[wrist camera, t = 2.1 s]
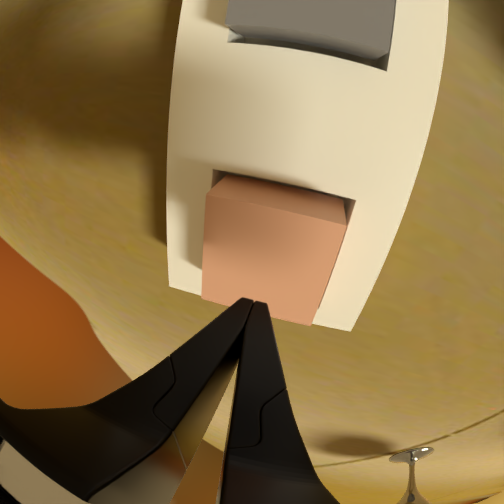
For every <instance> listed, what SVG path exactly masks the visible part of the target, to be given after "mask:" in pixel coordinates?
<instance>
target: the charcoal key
mask: <svg viewBox="0 0 504 504" xmlns="http://www.w3.org/2000/svg"><path fill="white" fill-rule="evenodd" d="M394 6H395V0H229V1H228V7H227V13H226V19H225V25H226V26H228V27H230V28H231V29H233V30H234V31H236V32H237V33H239V34H240V35H242V36H243V37H249V38H261V39H270V40H279V41H286V42H293V43H300V44H306V45H311V46H317V47H322V48H326V49H331V50H335V51H340V52H344V53H348V54H352V55H356V56H359V57H363V58H366V59H370V60H373V61H374V60H376V59H378V58H380V57H381V56H383V55H385V54H387V53H388V52H389V46H390V39H391V32H392V24H393V16H394Z"/></svg>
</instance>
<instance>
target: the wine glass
mask: <svg viewBox="0 0 504 504" xmlns="http://www.w3.org/2000/svg"><path fill="white" fill-rule="evenodd" d="M433 452H434V449H433V448H430V447H425V448H416V449H411V450H407V451H404V452H401V453H398V454H396V455H394V456H392V457H391V458H390V459H389V461H390V462H392V463H408V464H409V482H408V487H407V490H406V492H405V494H404V496H403V497H402V498H401V500H400V501H399V502H398V503H397V504H431V502H430V501H428V500H427V499H426V498H425V497H424V496H422V495H421V494H420V492H419V491H418V489H417V487H416V483H415V473H414V466H415V462H416V461H417V460H419V459H422V458H425V457H427V456H429V455H430V454H432V453H433Z"/></svg>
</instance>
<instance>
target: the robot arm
mask: <svg viewBox="0 0 504 504" xmlns="http://www.w3.org/2000/svg"><path fill="white" fill-rule="evenodd" d="M238 361H239V362H238ZM237 364H238V368H237V374H236V380H235V387H234V393H233V399H232V406H231V412H230V418H229V424H228V431H227V437H226V443H225V449H224V456H223V463H222V468H221V474H220V481H219V487H218V493H217V499H216V504H340V503H339V502H338V501H337V500H336V499H335V498H334V496H333V495H332V494H331V493H330V492H329V491H328V490H327V489H326V488H325V486H324V485H323V484H322V482H321V481H320V479H319V478H318V476H317V474H316V472H315V470H314V467H313V465H312V463H311V460H310V458H309V455H308V453H307V450H306V448H305V445H304V443H303V440H302V437H301V435H300V432H299V430H298V427H297V424H296V421H295V418H294V415H293V411H292V408H291V404H290V400H289V396H288V391H287V390H286V388H287V387H286V383H285V378H284V374H283V369H282V365H281V361H280V356H279V352H278V347H277V343H276V338H275V334H274V330H273V325H272V321H271V316H270V312H269V308H268V304H267V303H265V302H261V301H255V302H254V300H253V299H249V298H245V297H241V298H240V299H238V300H237V301H236V302H235V303H234V304H232V305H231V306H230V307H229V308H228V309H226V310H225V311H224V312H223V313H221V314H220V315H219V316H218V317H216V318H215V319H214V320H213V321H212V322H210V323H209V324H208V325H207V326H205V327H204V328H203V329H202V330H200V331H199V332H198V333H197V334H195V335H194V336H193V337H192V338H190V339H189V340H188V341H187V342H185V343H184V344H183V345H182V346H180V347H179V348H178V349H177V350H175V351H174V352H173V353H171V354H170V357H169V356H167V357H166V358H165V359H164V360H162V361H161V362H160V363H159V364H157V365H156V366H154V367H153V368H152V369H150V370H149V371H147V372H146V373H144V374H143V375H141V376H140V377H138V378H136V379H135V380H133V381H131V382H130V383H128V384H126V385H125V386H123V387H121V388H119V389H117V390H116V391H114V392H112V393H110V394H109V395H107V396H105V397H103V398H101V399H99V400H98V401H95V402H93V403H90V404H87V405H83V406H78V407H66V408H50V409H18V408H14V407H12V406H9V405H7V404H6V403H5V402H4V401H2V399H1V398H0V504H169V503H170V501H171V499H172V497H173V495H174V494H175V492H176V489H177V488H178V486H179V484H180V482H181V480H182V478H183V476H184V474H185V472H186V469H187V468H188V466H189V464H190V462H191V460H192V458H193V456H194V454H195V452H196V450H197V448H198V446H199V444H200V442H201V440H202V438H203V436H204V434H205V432H206V430H207V428H208V426H209V424H210V422H211V420H212V418H213V416H214V414H215V411H216V409H217V407H218V405H219V403H220V401H221V399H222V397H223V395H224V392H225V390H226V388H227V386H228V384H229V382H230V380H231V377H232V375H233V373H234V371H235V369H236V366H237Z"/></svg>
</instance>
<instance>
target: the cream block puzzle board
mask: <svg viewBox="0 0 504 504" xmlns="http://www.w3.org/2000/svg"><path fill="white" fill-rule="evenodd" d="M228 1H229V0H183V3H182V8H181V14H180V20H179V27H178V34H177V41H176V48H175V57H174V65H173V75H172V85H171V96H170V109H169V125H168V145H167V183H166V213H167V252H168V272H169V286H170V287H173V288H177V289H180V290H183V291H187V292H190V293H194V294H197V295H201V292H202V261H203V238H204V219H205V202H206V194H207V193H208V192H209V191H210V190H211V189H212V188H213V187H214V186H215V185H216V184H217V183H218V182H219V181H220V180H221V179H222V178H224V177H225V176H226V175H227V174H229V175H234V176H240V177H245V178H250V179H255V180H260V181H265V182H270V183H275V184H279V185H284V186H288V187H293V188H297V189H302V190H306V191H310V192H315V193H319V194H323V195H327V196H331V197H335V198H339V199H343V205H344V211H345V217H346V223H347V227H346V230H345V233H344V236H343V239H342V242H341V245H340V248H339V251H338V254H337V257H336V260H335V263H334V266H333V269H332V271H331V274H330V277H329V280H328V283H327V285H326V288H325V291H324V293H323V296H322V299H321V301H320V304H319V307H318V309H317V312H316V314H315V317H314V319H313V322H312V324H317V325H322V326H326V327H331V328H336V329H341V330H346V331H350V332H351V330H352V328H353V326H354V324H355V322H356V320H357V318H358V316H359V314H360V312H361V310H362V308H363V306H364V304H365V302H366V300H367V298H368V296H369V294H370V292H371V290H372V288H373V286H374V284H375V282H376V279H377V277H378V275H379V273H380V271H381V268H382V266H383V264H384V261H385V259H386V257H387V254H388V252H389V250H390V247H391V245H392V242H393V240H394V237H395V235H396V232H397V230H398V227H399V225H400V222H401V219H402V217H403V214H404V211H405V209H406V206H407V203H408V200H409V197H410V194H411V191H412V188H413V185H414V182H415V179H416V176H417V173H418V170H419V166H420V163H421V160H422V156H423V153H424V149H425V145H426V142H427V138H428V134H429V130H430V126H431V122H432V118H433V113H434V109H435V104H436V99H437V94H438V89H439V84H440V78H441V72H442V66H443V59H444V51H445V43H446V33H447V21H448V2H449V0H395V6H394V16H393V24H392V32H391V39H390V46H389V52H388V53H387V54H385V55H383V56H381V57H380V58H378V59H376V60H374V61H373V60H370V59H366V58H363V57H359V56H356V55H352V54H348V53H344V52H340V51H335V50H331V49H326V48H322V47H317V46H311V45H306V44H300V43H293V42H286V41H279V40H270V39H261V38H249V37H243V36H242V35H240V34H239V33H237V32H236V31H234V30H233V29H231V28H230V27H228V26H226V25H225V19H226V13H227V7H228Z"/></svg>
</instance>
